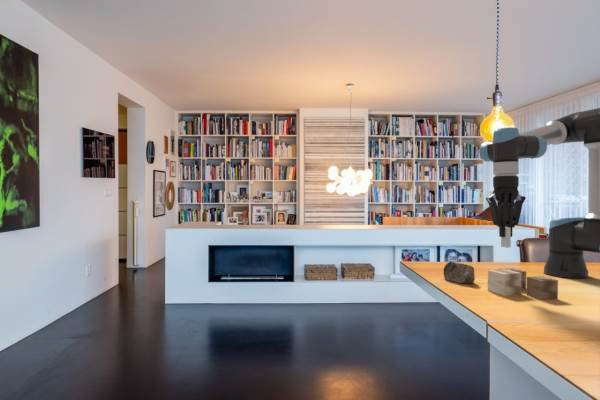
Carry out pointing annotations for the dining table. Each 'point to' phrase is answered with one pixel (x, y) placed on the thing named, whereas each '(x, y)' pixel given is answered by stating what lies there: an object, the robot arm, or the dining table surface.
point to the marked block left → (542, 288)
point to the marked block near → (523, 281)
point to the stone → (459, 272)
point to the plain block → (504, 282)
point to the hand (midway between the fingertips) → (505, 246)
